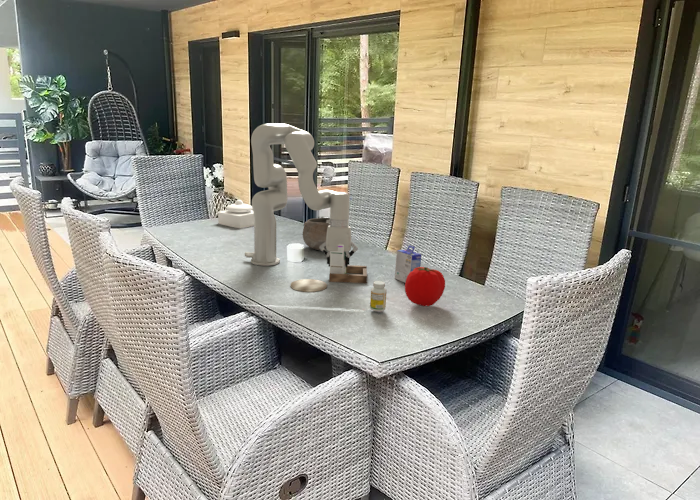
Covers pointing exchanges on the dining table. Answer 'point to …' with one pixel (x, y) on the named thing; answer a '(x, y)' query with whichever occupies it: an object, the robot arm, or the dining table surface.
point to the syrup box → (338, 261)
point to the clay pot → (315, 232)
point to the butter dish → (237, 215)
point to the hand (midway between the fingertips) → (338, 265)
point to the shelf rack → (351, 275)
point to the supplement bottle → (378, 296)
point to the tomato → (424, 286)
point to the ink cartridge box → (406, 263)
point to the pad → (308, 285)
